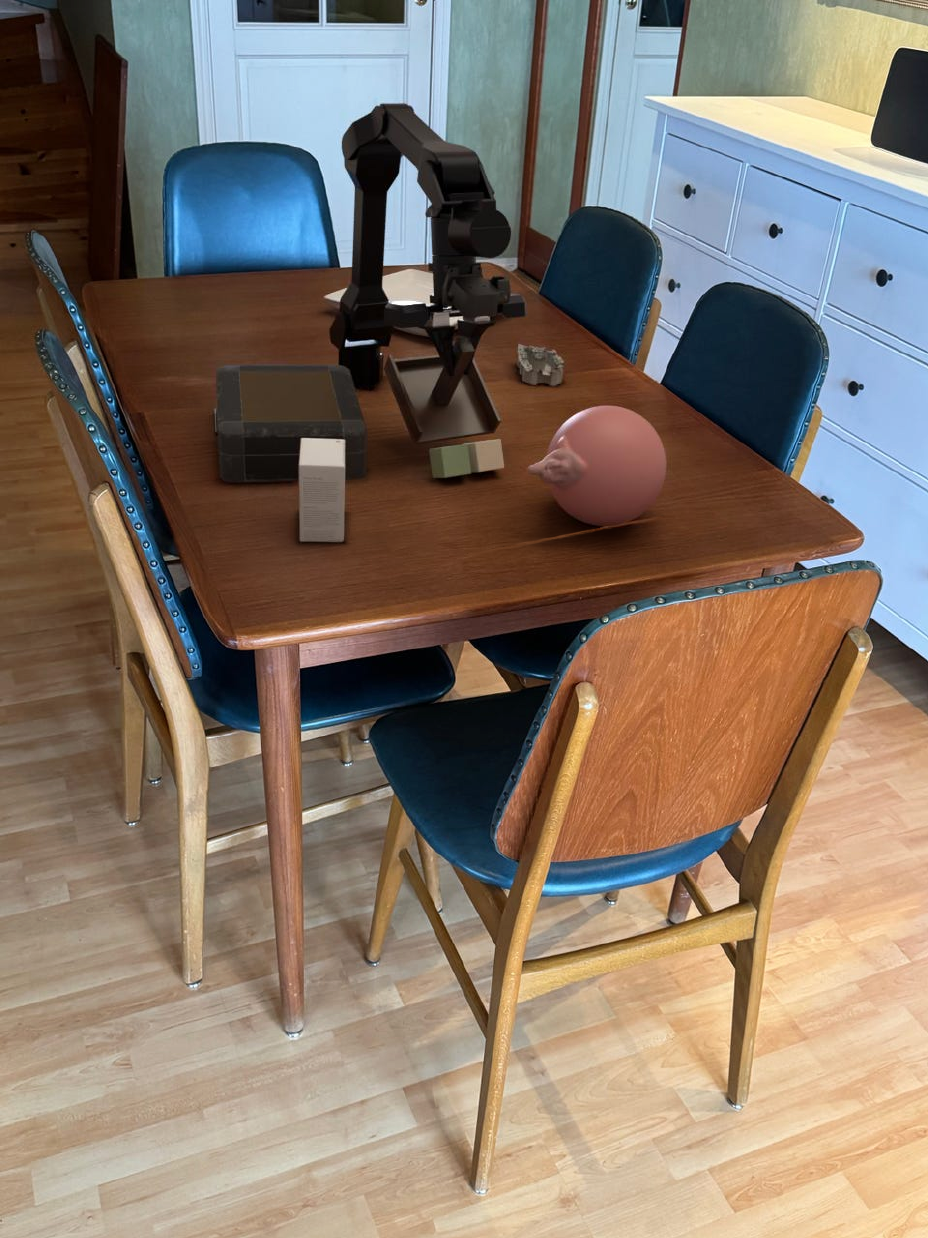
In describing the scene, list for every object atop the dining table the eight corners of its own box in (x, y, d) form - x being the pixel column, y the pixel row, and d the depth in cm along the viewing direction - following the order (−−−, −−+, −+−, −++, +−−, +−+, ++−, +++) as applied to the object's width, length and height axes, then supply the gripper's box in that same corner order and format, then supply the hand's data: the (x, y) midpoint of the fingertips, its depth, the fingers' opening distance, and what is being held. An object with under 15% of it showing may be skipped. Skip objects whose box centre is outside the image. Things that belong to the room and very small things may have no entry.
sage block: (428, 449, 152) (440, 447, 149) (454, 445, 154) (467, 443, 150) (432, 478, 153) (445, 477, 149) (458, 473, 155) (471, 473, 151)
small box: (301, 512, 143) (300, 436, 137) (344, 513, 143) (345, 437, 138) (298, 542, 136) (297, 464, 130) (344, 543, 137) (345, 465, 131)
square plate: (409, 284, 229) (410, 265, 227) (519, 316, 217) (521, 296, 215) (321, 312, 210) (321, 292, 208) (435, 348, 198) (437, 327, 196)
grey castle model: (563, 387, 186) (566, 364, 184) (518, 385, 186) (521, 361, 184) (557, 364, 195) (560, 342, 193) (515, 362, 195) (517, 339, 193)
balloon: (488, 509, 147) (498, 400, 139) (612, 485, 156) (628, 381, 147) (549, 563, 136) (564, 448, 128) (679, 535, 145) (700, 425, 136)
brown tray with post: (383, 368, 156) (406, 309, 146) (462, 359, 162) (490, 301, 151) (413, 444, 152) (439, 389, 142) (494, 433, 157) (524, 379, 147)
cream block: (462, 443, 154) (475, 442, 151) (487, 440, 156) (500, 438, 152) (466, 472, 155) (479, 472, 152) (491, 468, 157) (504, 468, 153)
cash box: (214, 412, 168) (211, 362, 163) (348, 410, 172) (348, 362, 167) (215, 485, 147) (212, 432, 143) (367, 482, 151) (368, 429, 147)
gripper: (415, 262, 134) (421, 392, 139) (547, 252, 141) (548, 376, 147) (378, 257, 143) (385, 379, 149) (504, 249, 151) (506, 365, 156)
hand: (458, 375), depth 150 cm, fingers closed on brown tray with post
